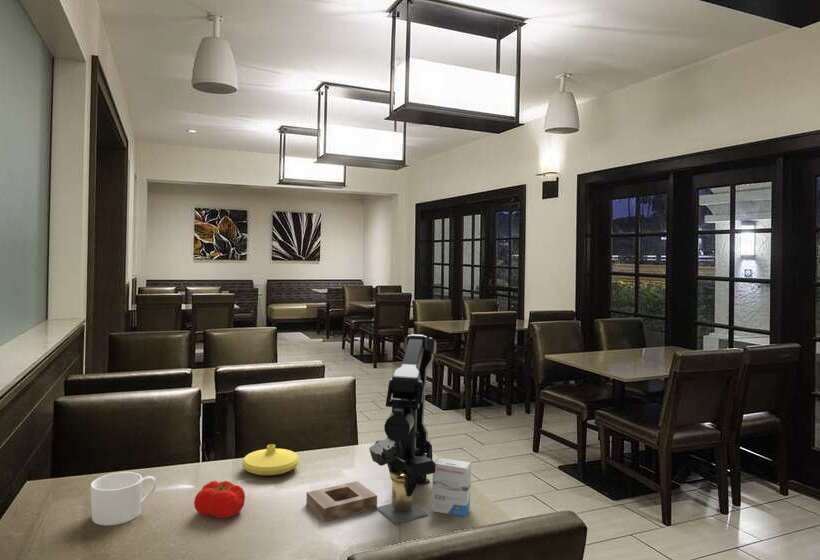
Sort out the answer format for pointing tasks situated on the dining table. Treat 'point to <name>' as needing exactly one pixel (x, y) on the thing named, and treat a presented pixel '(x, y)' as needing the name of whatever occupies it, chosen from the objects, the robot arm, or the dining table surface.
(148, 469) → the dining table surface
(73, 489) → the dining table surface
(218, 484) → the tomato
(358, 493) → the bore block
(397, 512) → the felt pad
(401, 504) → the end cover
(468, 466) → the ink box
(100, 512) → the mug
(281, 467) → the yellow flat knobbed disc
